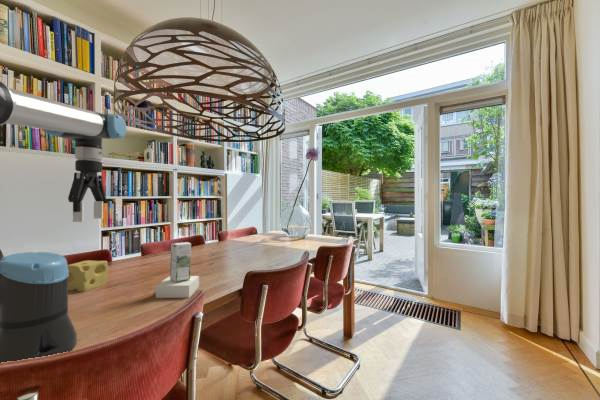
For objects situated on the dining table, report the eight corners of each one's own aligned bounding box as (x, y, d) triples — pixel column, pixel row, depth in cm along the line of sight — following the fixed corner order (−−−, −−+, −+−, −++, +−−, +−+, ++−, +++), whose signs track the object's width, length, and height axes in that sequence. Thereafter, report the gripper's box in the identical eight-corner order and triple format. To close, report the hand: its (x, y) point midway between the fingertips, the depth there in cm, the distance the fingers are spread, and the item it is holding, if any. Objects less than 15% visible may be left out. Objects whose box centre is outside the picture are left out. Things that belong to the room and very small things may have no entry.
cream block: (189, 298, 100) (189, 285, 100) (155, 299, 99) (155, 285, 99) (198, 287, 112) (199, 275, 112) (169, 288, 111) (169, 276, 111)
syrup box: (184, 277, 110) (185, 241, 111) (190, 279, 106) (191, 242, 107) (169, 279, 106) (170, 242, 107) (175, 282, 102) (176, 243, 103)
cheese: (84, 292, 104) (84, 266, 104) (62, 290, 106) (62, 265, 106) (108, 284, 114) (108, 260, 114) (87, 282, 116) (87, 259, 116)
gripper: (82, 156, 85) (81, 223, 85) (115, 164, 109) (115, 217, 109) (53, 154, 83) (53, 223, 83) (94, 164, 107) (94, 217, 108)
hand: (88, 220), depth 96 cm, fingers open, 13 cm apart
